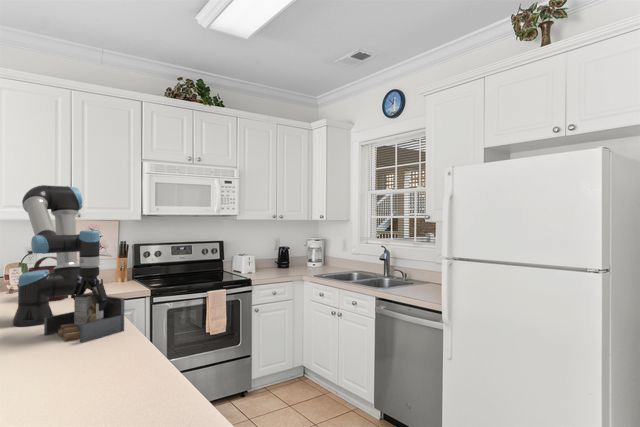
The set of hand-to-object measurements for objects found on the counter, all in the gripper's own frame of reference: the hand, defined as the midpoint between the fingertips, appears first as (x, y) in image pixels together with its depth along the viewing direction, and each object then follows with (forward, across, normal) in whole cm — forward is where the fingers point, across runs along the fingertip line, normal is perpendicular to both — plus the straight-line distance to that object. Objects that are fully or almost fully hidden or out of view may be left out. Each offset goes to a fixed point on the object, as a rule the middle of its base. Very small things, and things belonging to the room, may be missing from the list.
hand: (88, 317), depth 173 cm
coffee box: (+7, 0, 0) cm, 7 cm away
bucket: (+5, -83, +34) cm, 90 cm away
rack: (+6, 0, -1) cm, 6 cm away
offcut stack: (+7, 0, -8) cm, 11 cm away
